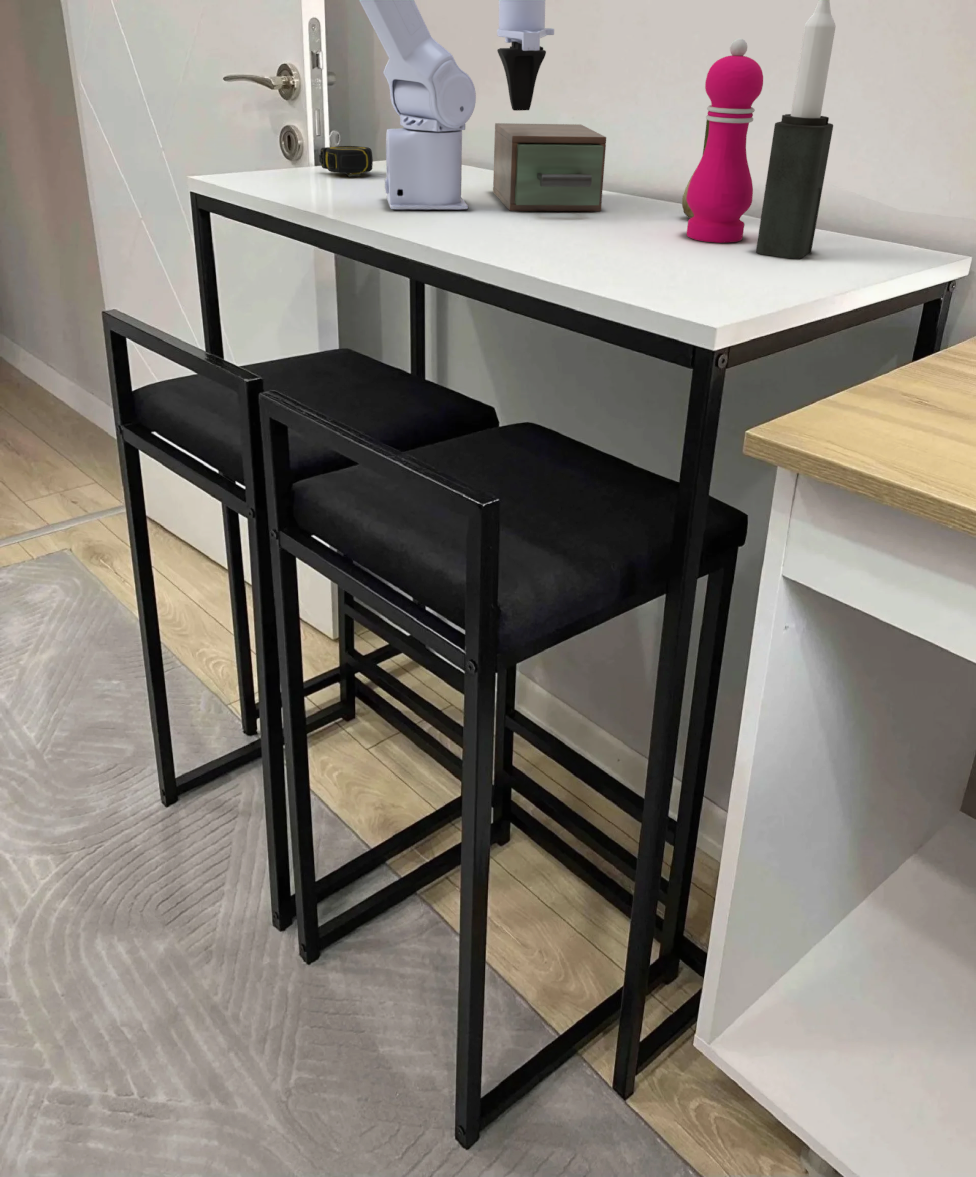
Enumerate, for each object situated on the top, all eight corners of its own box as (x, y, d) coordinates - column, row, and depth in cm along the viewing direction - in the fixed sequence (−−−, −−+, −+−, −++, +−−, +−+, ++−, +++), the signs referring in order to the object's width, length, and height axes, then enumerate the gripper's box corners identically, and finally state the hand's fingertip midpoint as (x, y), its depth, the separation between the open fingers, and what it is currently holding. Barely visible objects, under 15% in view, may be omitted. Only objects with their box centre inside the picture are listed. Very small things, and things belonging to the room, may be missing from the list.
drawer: (607, 211, 127) (612, 150, 124) (522, 211, 126) (524, 150, 122) (576, 188, 141) (580, 133, 138) (500, 188, 140) (502, 132, 137)
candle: (799, 259, 110) (846, -16, 98) (752, 253, 113) (792, -17, 100) (814, 251, 114) (860, -15, 102) (768, 245, 117) (808, -16, 104)
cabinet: (600, 211, 132) (606, 137, 128) (509, 211, 131) (512, 135, 126) (577, 193, 144) (581, 124, 140) (492, 192, 142) (494, 123, 138)
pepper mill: (708, 246, 115) (734, 40, 106) (669, 233, 121) (690, 36, 111) (760, 241, 118) (790, 40, 109) (719, 229, 124) (744, 37, 114)
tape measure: (364, 171, 156) (363, 143, 154) (379, 177, 151) (378, 149, 149) (319, 172, 154) (318, 144, 152) (333, 179, 148) (331, 150, 146)
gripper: (566, -11, 123) (562, 116, 130) (543, -14, 135) (541, 102, 142) (506, -11, 122) (505, 117, 129) (489, -14, 134) (489, 103, 141)
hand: (520, 110), depth 136 cm, fingers closed
